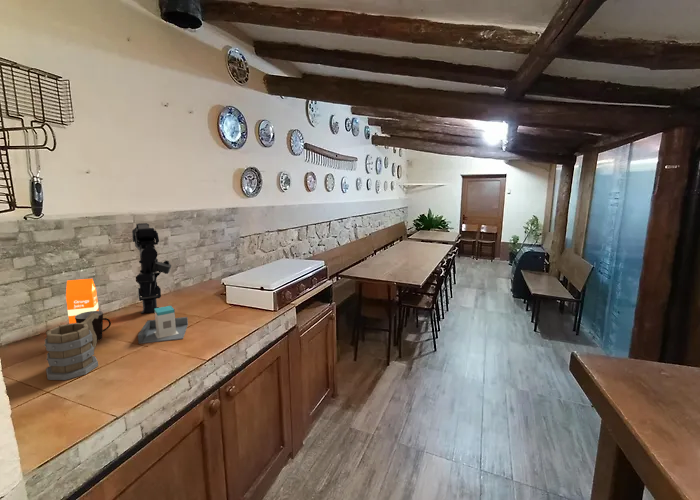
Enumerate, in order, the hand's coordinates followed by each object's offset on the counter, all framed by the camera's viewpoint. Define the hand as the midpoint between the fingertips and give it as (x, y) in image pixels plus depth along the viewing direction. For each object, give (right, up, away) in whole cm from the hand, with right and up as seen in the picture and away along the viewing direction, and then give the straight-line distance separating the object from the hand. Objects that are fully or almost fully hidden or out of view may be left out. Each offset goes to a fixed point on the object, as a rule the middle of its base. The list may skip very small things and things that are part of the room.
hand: (150, 292), depth 151 cm
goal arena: (+13, -15, -11) cm, 23 cm away
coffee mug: (-11, -16, -18) cm, 27 cm away
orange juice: (-26, -14, -4) cm, 29 cm away
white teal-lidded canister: (+13, -15, -11) cm, 23 cm away
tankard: (-2, -20, -36) cm, 41 cm away
